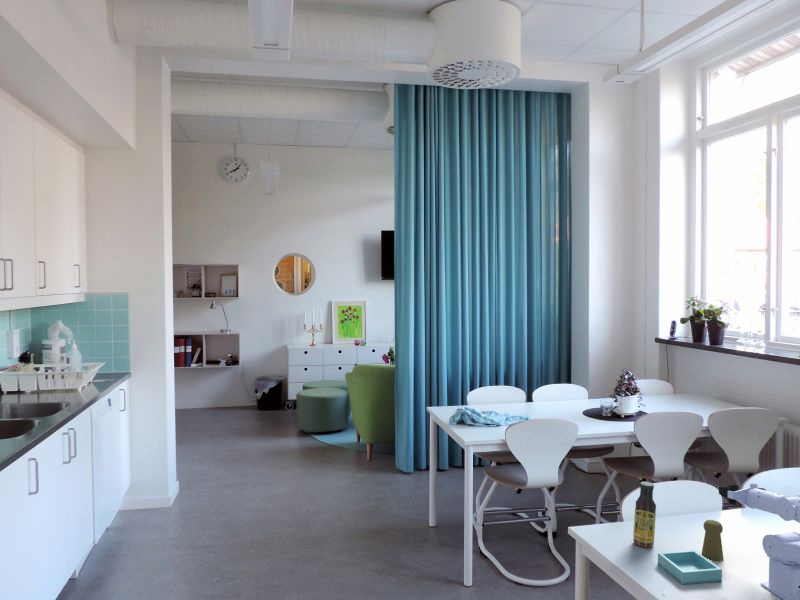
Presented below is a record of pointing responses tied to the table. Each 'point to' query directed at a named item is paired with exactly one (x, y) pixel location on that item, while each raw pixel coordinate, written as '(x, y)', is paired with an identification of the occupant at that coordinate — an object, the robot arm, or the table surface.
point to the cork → (712, 541)
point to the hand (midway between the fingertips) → (730, 491)
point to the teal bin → (689, 567)
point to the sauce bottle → (645, 516)
